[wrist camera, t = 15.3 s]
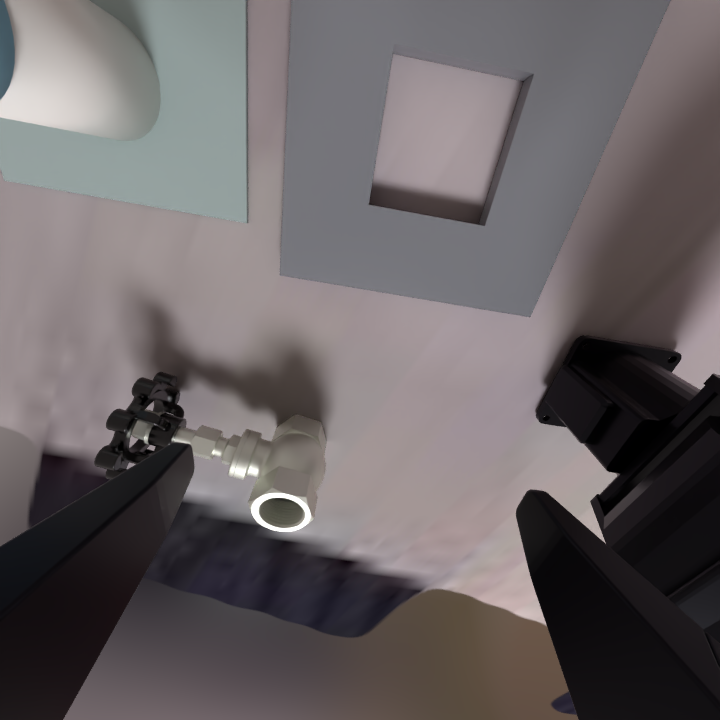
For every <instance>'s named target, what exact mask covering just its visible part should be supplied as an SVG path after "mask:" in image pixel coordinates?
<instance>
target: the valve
mask: <svg viewBox="0 0 720 720" xmlns="http://www.w3.org/2000/svg"><path fill="white" fill-rule="evenodd" d="M176 382H177V377H176V376H173V375H170V374H167V373H164V372H159V373H157V374H156V375H155V377H154V379H153V380H150V379H146V378H139V379H138V380H137V381H136V382H135V384H134V386H133V388H132V395H133V396H134V399H133V401H132V403H131V404H130V405H129V407H128V408H127V409H126V410H122V409H116V410H115V411H113V412H112V413H111V414H110V416H109V418H108V419H107V422H106V428H107V429H109V430H112V431H115V433H114V437H113V439H112V441H111V443H110V444H109V445H107V446H104V447H103V448H102V449H101V450H100V451H99V452H98V454H97V456H96V458H95V461H94V464H95V466H97V467H100V468H104V469H107V471H106V478H108V479H113V478H114V477H116V476H118V475H119V474H121V473H123V472H124V471H126V470H127V469H126V468H127V466H128V463H129V462H130V463H134V464H138V463H139V462H141V461H143V460H144V459H146V458H148V457H149V456H151V455H153V454H154V453H156V452H158V451H159V450H161V449H163V448H164V447H166V446H168V445H169V444H171V443H173V442H181V443H188V444H190V445H191V446H192V450H193V455H195V456H198V457H202V458H205V459H209V460H212V459H213V457H214V455H215V456H219V457H221V458H222V463H223V464H227V465H230V468H229V472H228V475H229V476H231V477H235V478H238V479H242V480H244V479H245V478H246V476H247V475H249V476H253V477H256V478H258V480H256V483H255V486H254V488H253V491H252V493H251V496H250V499H249V501H248V503H249V507H250V510H251V512H252V515H253V517H254V519H255V520H256V522H257V523H258V524H260V525H262V526H264V527H266V528H268V529H271V530H275V531H281V532H292V531H296V530H298V529H300V528H302V527H304V526H305V525H307V524H308V523H310V522H311V521H312V520H314V515H315V509H316V503H317V494H316V492H317V490H318V489H319V487H320V485H321V484H322V481H323V479H324V475H325V467H326V463H325V457H324V454H325V448H326V438H325V434H324V430H323V426H322V423H321V422H319V421H317V420H313V419H310V418H307V417H304V416H301V415H297V414H296V415H294V416H292V417H291V418H289V419H288V420H286V421H285V422H283V423H282V424H281V425H279V426H278V427H277V429H276V431H275V434H274V436H273V439H272V442H271V441H267V440H264V439H262V438H261V435H262V434H261V433H259V432H256V431H253V430H249V429H246V430H245V432H244V433H243V435H242V437H240V436H237V435H233V436H232V437H231V438H230V439H227V438H224V437H223V432H222V431H220V430H217V429H214V428H210V427H207V426H203V425H202V426H201V427H199V429H198V430H197V431H195V430H192V429H188V428H186V419H184V410H183V409H182V407H181V406H179V405H177V403H178V401H179V398H180V393H179V392H175V391H172V390H169V389H165V388H166V387H167V385H170V386H175V385H176ZM153 401H154V409H153V411H150V410H147V409H146V408H147V407H148V405H150V404H151V403H152V402H153ZM145 409H146V410H145ZM166 412H167V413H171V414H173V415H171V414H167V413H166ZM131 435H132V436H133V437H135V438H137V439H138V440H137V442H136V443H135V444H134V445H133V446H132V447H130V448H129V442H130V437H131ZM149 445H153V446H156V447H155V450H154V451H152V450H148V449H147V448H148V447H149Z"/></svg>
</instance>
